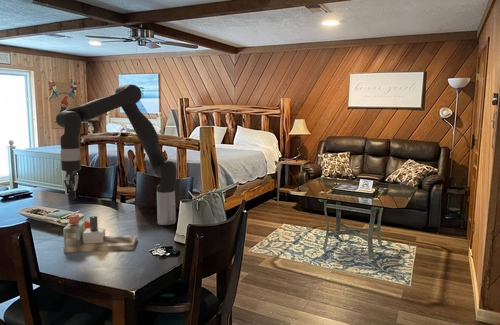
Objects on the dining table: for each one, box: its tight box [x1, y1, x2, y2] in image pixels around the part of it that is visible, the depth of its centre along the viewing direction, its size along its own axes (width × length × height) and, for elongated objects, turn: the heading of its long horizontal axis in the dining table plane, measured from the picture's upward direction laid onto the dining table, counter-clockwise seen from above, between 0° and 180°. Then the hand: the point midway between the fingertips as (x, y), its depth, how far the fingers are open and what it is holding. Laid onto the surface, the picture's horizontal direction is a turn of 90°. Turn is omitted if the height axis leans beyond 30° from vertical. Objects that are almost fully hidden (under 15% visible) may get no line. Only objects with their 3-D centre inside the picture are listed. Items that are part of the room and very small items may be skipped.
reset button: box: [68, 214, 80, 224], centre depth 164 cm, size 4×4×3 cm
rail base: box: [62, 220, 138, 253], centre depth 167 cm, size 28×12×10 cm, turn 99°
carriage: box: [83, 215, 106, 244], centre depth 166 cm, size 8×6×11 cm
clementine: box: [84, 220, 90, 229], centre depth 181 cm, size 8×7×7 cm
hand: (72, 199), depth 163 cm, fingers closed
